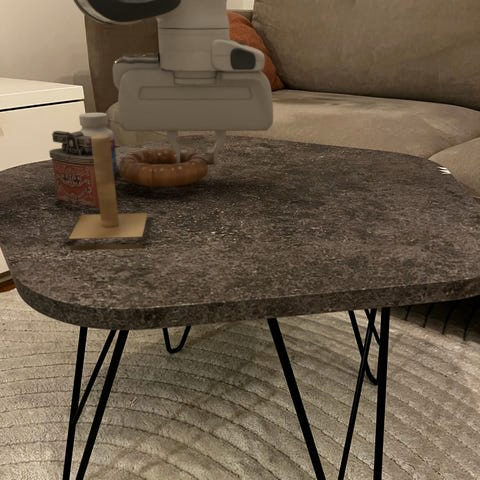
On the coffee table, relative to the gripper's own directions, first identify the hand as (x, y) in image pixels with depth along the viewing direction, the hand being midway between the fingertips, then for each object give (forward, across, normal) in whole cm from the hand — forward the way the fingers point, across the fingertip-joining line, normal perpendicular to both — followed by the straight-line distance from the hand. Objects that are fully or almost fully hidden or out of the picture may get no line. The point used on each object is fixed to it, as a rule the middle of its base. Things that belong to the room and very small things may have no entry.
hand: (197, 164), depth 81 cm
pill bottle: (+5, -15, +10) cm, 18 cm away
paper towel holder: (+5, -10, -15) cm, 19 cm away
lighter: (+5, -15, -5) cm, 17 cm away
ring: (0, -5, 0) cm, 5 cm away
